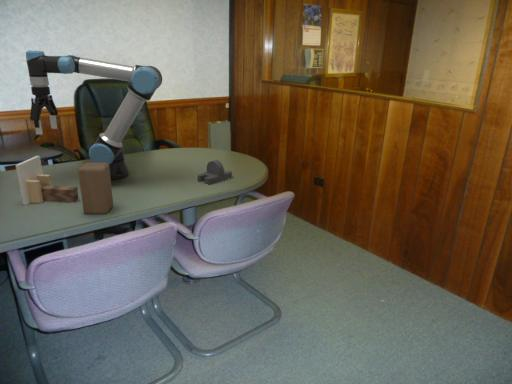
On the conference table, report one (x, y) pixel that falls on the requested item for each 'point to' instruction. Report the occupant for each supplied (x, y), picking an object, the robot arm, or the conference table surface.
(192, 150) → the conference table surface
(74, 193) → the rail
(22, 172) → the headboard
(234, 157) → the conference table surface
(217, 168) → the bracket
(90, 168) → the wooden block
